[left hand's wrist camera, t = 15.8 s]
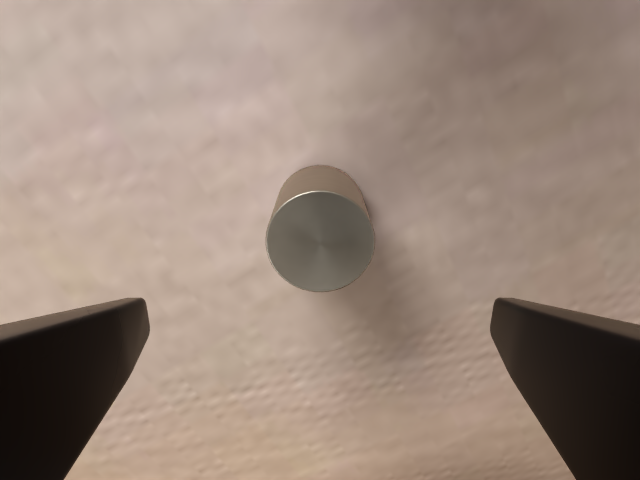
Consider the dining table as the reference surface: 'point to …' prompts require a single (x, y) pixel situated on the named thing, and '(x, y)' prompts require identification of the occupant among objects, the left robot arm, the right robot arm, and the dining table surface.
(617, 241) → the dining table surface
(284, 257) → the canister
